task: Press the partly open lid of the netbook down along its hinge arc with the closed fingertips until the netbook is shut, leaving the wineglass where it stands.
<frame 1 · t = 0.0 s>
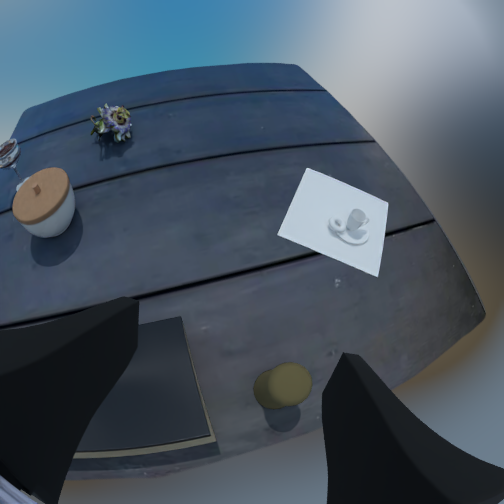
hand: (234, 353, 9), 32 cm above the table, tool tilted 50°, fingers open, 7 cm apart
lidded bowl: (57, 222, 48), on the table
teacup and saucer: (340, 217, 56), on the table
cork: (274, 389, 38), on the table
wineglass: (24, 185, 52), on the table
netbook: (113, 396, 35), on the table
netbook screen: (97, 387, 30), point 6 cm above the table, hinge at 24.0°
passion flower: (113, 138, 62), on the table
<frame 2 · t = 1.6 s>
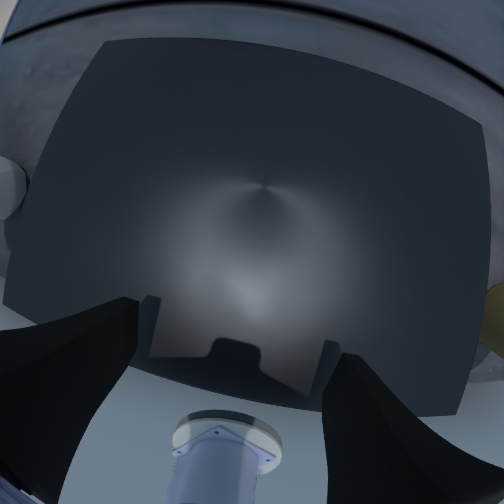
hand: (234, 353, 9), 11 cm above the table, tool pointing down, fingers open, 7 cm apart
cork: (493, 312, 19), on the table
salt shaker: (16, 185, 20), on the table
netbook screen: (264, 190, 13), point 6 cm above the table, hinge at 24.0°
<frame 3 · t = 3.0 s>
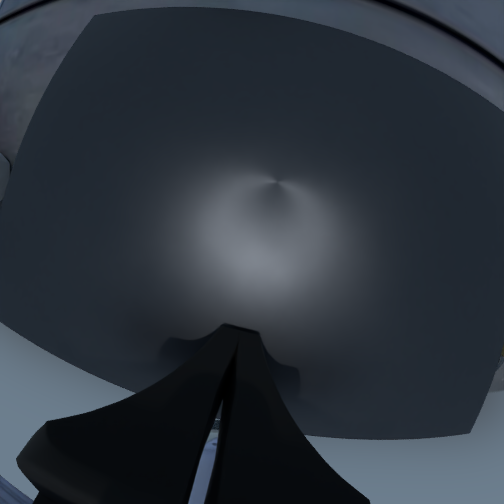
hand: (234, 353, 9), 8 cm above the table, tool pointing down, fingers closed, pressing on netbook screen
salt shaker: (0, 176, 17), on the table
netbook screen: (276, 185, 10), point 5 cm above the table, hinge at 21.1°, touching gripper
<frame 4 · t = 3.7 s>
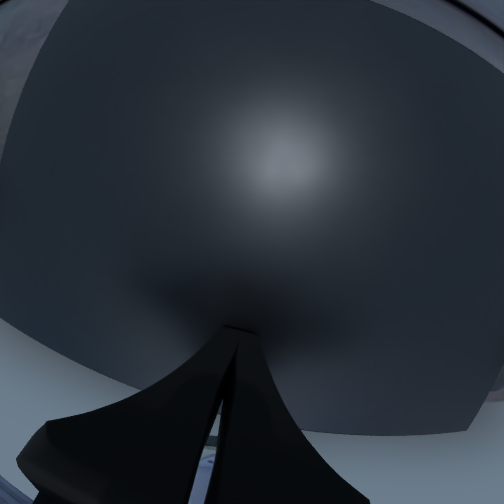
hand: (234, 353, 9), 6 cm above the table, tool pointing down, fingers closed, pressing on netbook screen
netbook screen: (279, 176, 9), point 4 cm above the table, hinge at 11.2°, touching gripper
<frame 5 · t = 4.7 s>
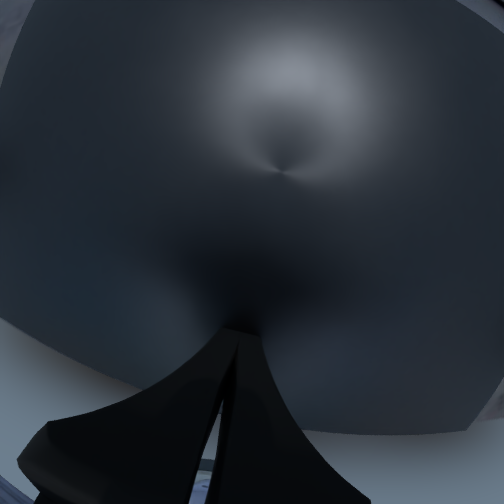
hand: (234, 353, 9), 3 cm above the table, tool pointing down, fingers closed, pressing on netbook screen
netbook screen: (281, 172, 8), point 3 cm above the table, hinge at 2.2°, touching gripper, netbook
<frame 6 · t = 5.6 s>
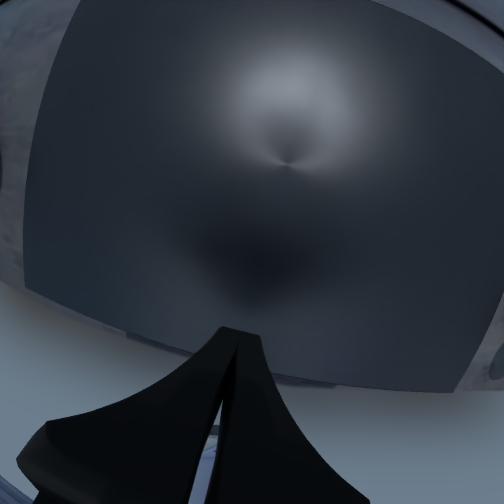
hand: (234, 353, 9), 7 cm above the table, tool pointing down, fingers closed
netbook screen: (286, 165, 11), point 3 cm above the table, hinge at 4.0°, touching netbook
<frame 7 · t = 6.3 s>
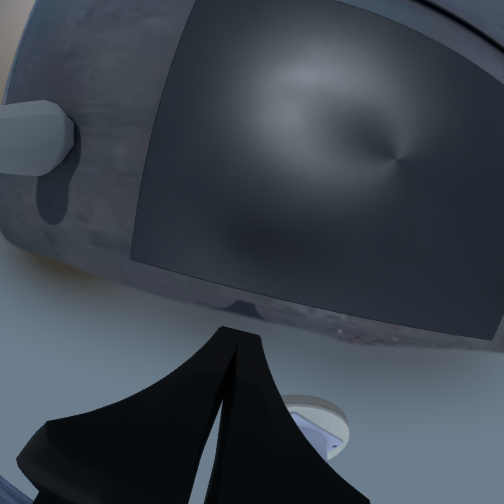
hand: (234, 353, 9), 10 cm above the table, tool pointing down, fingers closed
salt shaker: (59, 138, 18), on the table
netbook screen: (393, 159, 14), point 3 cm above the table, hinge at 4.0°, touching netbook
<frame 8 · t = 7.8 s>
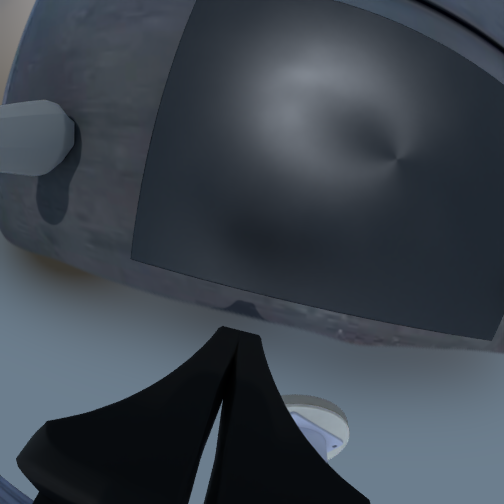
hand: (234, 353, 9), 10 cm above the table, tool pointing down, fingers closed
salt shaker: (59, 138, 18), on the table
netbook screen: (393, 159, 14), point 3 cm above the table, hinge at 4.0°, touching netbook
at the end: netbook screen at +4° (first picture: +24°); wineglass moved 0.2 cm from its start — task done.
